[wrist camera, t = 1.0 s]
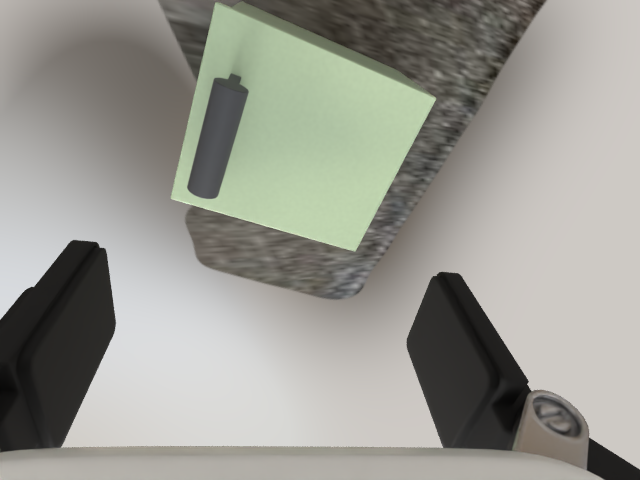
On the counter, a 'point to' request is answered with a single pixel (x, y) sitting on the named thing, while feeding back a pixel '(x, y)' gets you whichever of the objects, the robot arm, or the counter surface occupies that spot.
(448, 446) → the robot arm
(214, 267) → the counter surface
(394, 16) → the counter surface
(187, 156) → the lid
